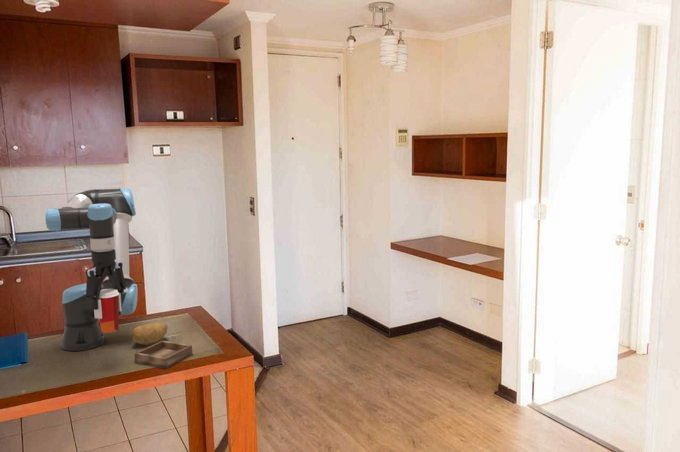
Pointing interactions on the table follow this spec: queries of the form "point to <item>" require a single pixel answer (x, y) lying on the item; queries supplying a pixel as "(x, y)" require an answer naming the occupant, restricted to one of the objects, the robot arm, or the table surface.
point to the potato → (149, 333)
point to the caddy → (163, 354)
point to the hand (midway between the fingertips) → (108, 314)
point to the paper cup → (109, 310)
